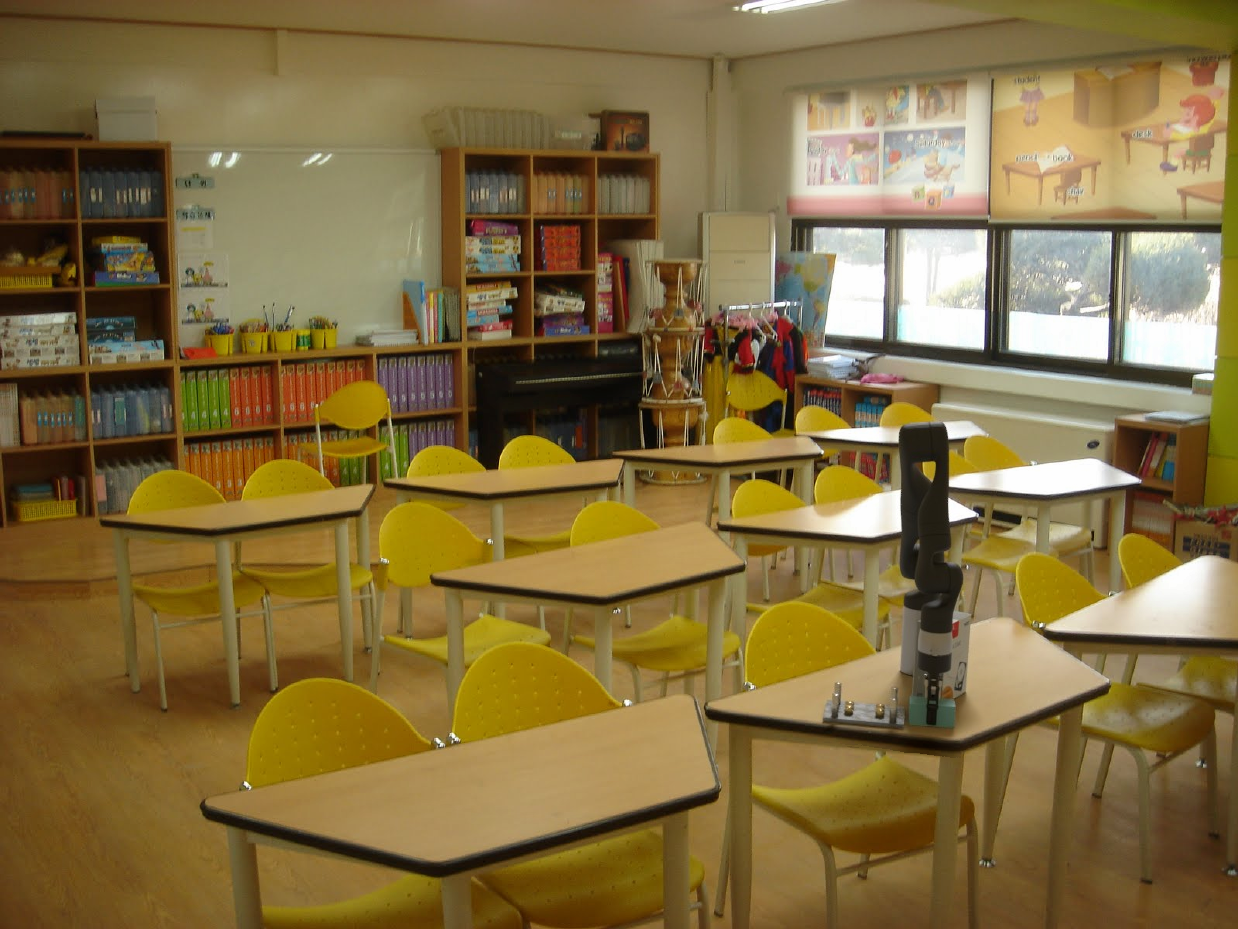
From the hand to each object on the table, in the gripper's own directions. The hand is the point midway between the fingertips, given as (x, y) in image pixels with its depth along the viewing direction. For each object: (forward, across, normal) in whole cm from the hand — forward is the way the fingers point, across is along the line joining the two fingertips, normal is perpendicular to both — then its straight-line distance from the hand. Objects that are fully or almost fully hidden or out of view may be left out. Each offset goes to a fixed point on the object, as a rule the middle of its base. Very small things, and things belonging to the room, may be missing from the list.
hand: (931, 720), depth 298 cm
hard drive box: (+1, -18, +2) cm, 18 cm away
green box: (+1, 0, 0) cm, 1 cm away
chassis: (+1, 0, -15) cm, 15 cm away
